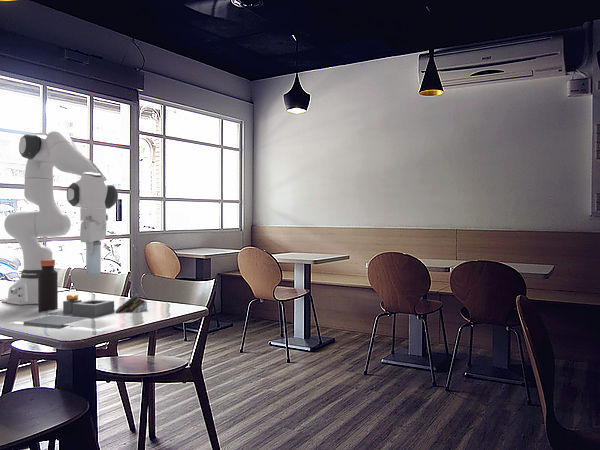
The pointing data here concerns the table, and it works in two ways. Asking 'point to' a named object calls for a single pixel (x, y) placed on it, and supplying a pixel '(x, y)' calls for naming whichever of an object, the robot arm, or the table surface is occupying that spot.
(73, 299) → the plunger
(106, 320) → the table surface
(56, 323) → the mat
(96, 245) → the block
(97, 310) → the block
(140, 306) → the chocolate cake
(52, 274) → the bottle
